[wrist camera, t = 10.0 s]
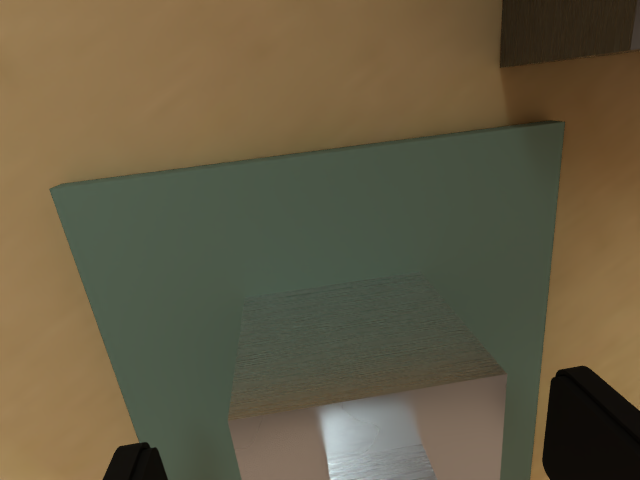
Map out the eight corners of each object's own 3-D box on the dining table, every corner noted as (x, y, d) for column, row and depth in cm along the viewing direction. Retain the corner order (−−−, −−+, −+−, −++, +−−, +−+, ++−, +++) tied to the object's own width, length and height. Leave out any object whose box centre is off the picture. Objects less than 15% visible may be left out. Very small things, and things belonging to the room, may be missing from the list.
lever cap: (423, 432, 13) (523, 653, 8) (275, 458, 13) (278, 707, 8) (420, 271, 11) (551, 425, 6) (244, 297, 11) (219, 485, 6)
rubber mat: (61, 183, 10) (49, 188, 9) (549, 120, 11) (565, 121, 10) (181, 532, 15) (177, 550, 14) (520, 468, 15) (529, 481, 15)
